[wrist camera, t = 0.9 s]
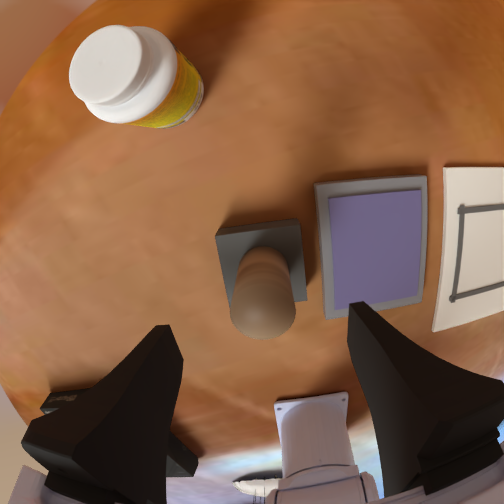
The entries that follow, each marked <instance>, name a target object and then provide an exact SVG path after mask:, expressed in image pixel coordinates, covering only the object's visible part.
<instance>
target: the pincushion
mask: <svg viewBox="0 0 504 504" xmlns="http://www.w3.org/2000/svg"><path fill="white" fill-rule="evenodd" d="M256 479H257V478H255V480H252V481H249V480H248V481H240V483H239V482H235V483H234V482H233V483H232V484H233V485H234V487H235V488H236V489H237V490H239V491H241V492H243V493H246V494H250V495H254V496H255V499H256V496H260V498H261V497H264V503H265V497H267V495H268V494H269V493H270V492H271V490H273V489H278V480H280V479H276V475H275V479H274V478H273V479H266V480H265V477H264V480H256ZM281 479H283V478H281ZM253 504H254V501H253Z"/></svg>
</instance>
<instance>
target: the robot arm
mask: <svg viewBox="0 0 504 504" xmlns="http://www.w3.org/2000/svg"><path fill="white" fill-rule="evenodd" d="M347 343H348V347H349V352H350V356H351V359H352V363H353V366H354V368H355V371H356V374H357V376H358V379H359V382H360V384H361V387H362V389H363V392H364V395H365V397H366V400H367V403H368V406H369V409H370V412H371V416H372V420H373V424H374V429H375V433H376V439H377V444H378V449H379V455H380V462H381V469H382V477H383V486H384V498H383V499H379V496H378V491H377V487H376V483H375V480H374V478H373V476H372V475H370V474H368V473H367V472H362V473H360V475H359V470H358V466H357V465H355V462H354V457H353V453H352V448H351V444H350V440H349V435H348V431H347V427H346V416H347V407H348V393H347V392H340V393H334V394H328V395H322V396H315V397H308V398H300V399H292V400H283V401H276V402H275V403H274V408H275V414H276V420H277V426H278V431H279V437H280V443H281V447H282V472H283V479H280V480H278V489H273V490H271V492H270V493H269V494H268V495H267V497H266V500H265V504H504V441H503V442H502V443H501V444H499V442H498V440H497V438H498V437H499V436H500V433H499V431H498V429H497V427H498V426H499V424H500V423H501V422H502V421H503V419H504V383H503V382H502V380H498V379H494V378H490V377H486V376H482V375H479V374H476V373H473V372H470V371H468V370H465V369H462V368H460V367H458V366H455V365H453V364H451V363H449V362H447V361H445V360H443V359H441V358H439V357H437V356H435V355H433V354H432V353H430V352H428V351H427V350H425V349H423V348H422V347H420V346H419V345H417V344H416V343H414V342H413V341H411V340H410V339H409V338H407V337H406V336H404V335H403V334H402V333H400V332H399V331H398V330H397V329H395V328H394V327H393V326H392V325H391V324H389V323H388V322H387V321H386V320H385V319H384V318H382V317H381V316H380V315H379V314H378V313H377V312H376V311H374V310H373V309H372V308H371V307H370V306H369V305H368V304H366V303H365V302H364V301H361V302H355V303H349V315H348V335H347ZM182 371H183V357H182V355H181V352H180V350H179V347H178V345H177V343H176V340H175V338H174V335H173V333H172V330H171V327H170V325H156V326H155V327H154V328H153V329H152V330H151V331H150V332H149V333H148V334H147V335H146V336H145V337H144V338H143V340H142V341H141V342H140V343H139V344H138V345H137V346H136V347H135V348H134V349H133V350H132V351H131V352H130V353H129V354H128V356H127V357H126V358H125V359H124V360H123V361H122V362H120V363H119V364H118V365H117V366H116V367H115V368H114V369H113V370H112V371H111V372H110V373H109V374H108V375H107V376H106V377H104V378H103V379H102V380H101V381H100V382H98V383H97V384H96V385H95V386H93V387H92V388H91V389H89V390H88V391H86V392H85V393H83V394H82V395H80V396H79V397H77V398H76V399H75V400H73V401H71V402H69V403H68V404H66V405H64V406H62V407H60V408H59V409H57V410H55V411H53V412H50V413H48V414H46V415H43V416H41V417H39V418H36V419H33V420H32V421H31V423H30V425H29V427H28V429H27V431H26V433H25V435H24V437H23V439H22V441H21V444H22V447H23V448H24V450H25V451H26V452H27V453H28V454H29V455H30V456H31V457H33V458H34V459H35V460H36V461H37V462H38V463H40V464H41V465H42V466H44V467H45V468H46V469H47V470H49V472H48V475H47V476H46V475H44V474H43V473H41V472H39V471H36V470H34V469H32V468H30V467H27V466H25V465H23V467H22V469H21V472H20V474H19V476H18V479H17V481H16V484H15V487H14V489H13V492H12V495H11V497H10V500H9V503H8V504H167V501H166V463H167V449H168V439H169V431H170V425H171V421H172V417H173V413H174V409H175V405H176V401H177V397H178V392H179V388H180V384H181V379H182Z"/></svg>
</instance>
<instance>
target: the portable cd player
mask: <svg viewBox="0 0 504 504" xmlns="http://www.w3.org/2000/svg"><path fill="white" fill-rule="evenodd" d="M89 389H91V388H87V389H80V390H73V391H65V392H56V393H50V394H49V396H48V397H47V399H46V400H45V401H44V403H43V404H42V406H41V407H40V410H41V411H42V412H43V413H44V414H45V415H46V414H48V413H50V412H53V411H55V410H57V409H59V408H60V407H62V406H64V405H66V404H68V403H69V402H71V401H73V400H75V399H76V398H77V397H79V396H80V395H82V394H83V393H85V392H86V391H88V390H89ZM197 466H198V458H197V457H196V456H195V455H194V454H193V453H192V452H191V451H190V450H189V449H188V448H187V447H186V446H185V445H184V444H183V443H182V442H181V441H180V440H179V439H178V438H177V437H176V436H175V435H174V434H173V433H172V432H171V431H169V439H168V449H167V463H166V477H193V476H194V474H195V471H196V469H197Z"/></svg>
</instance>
